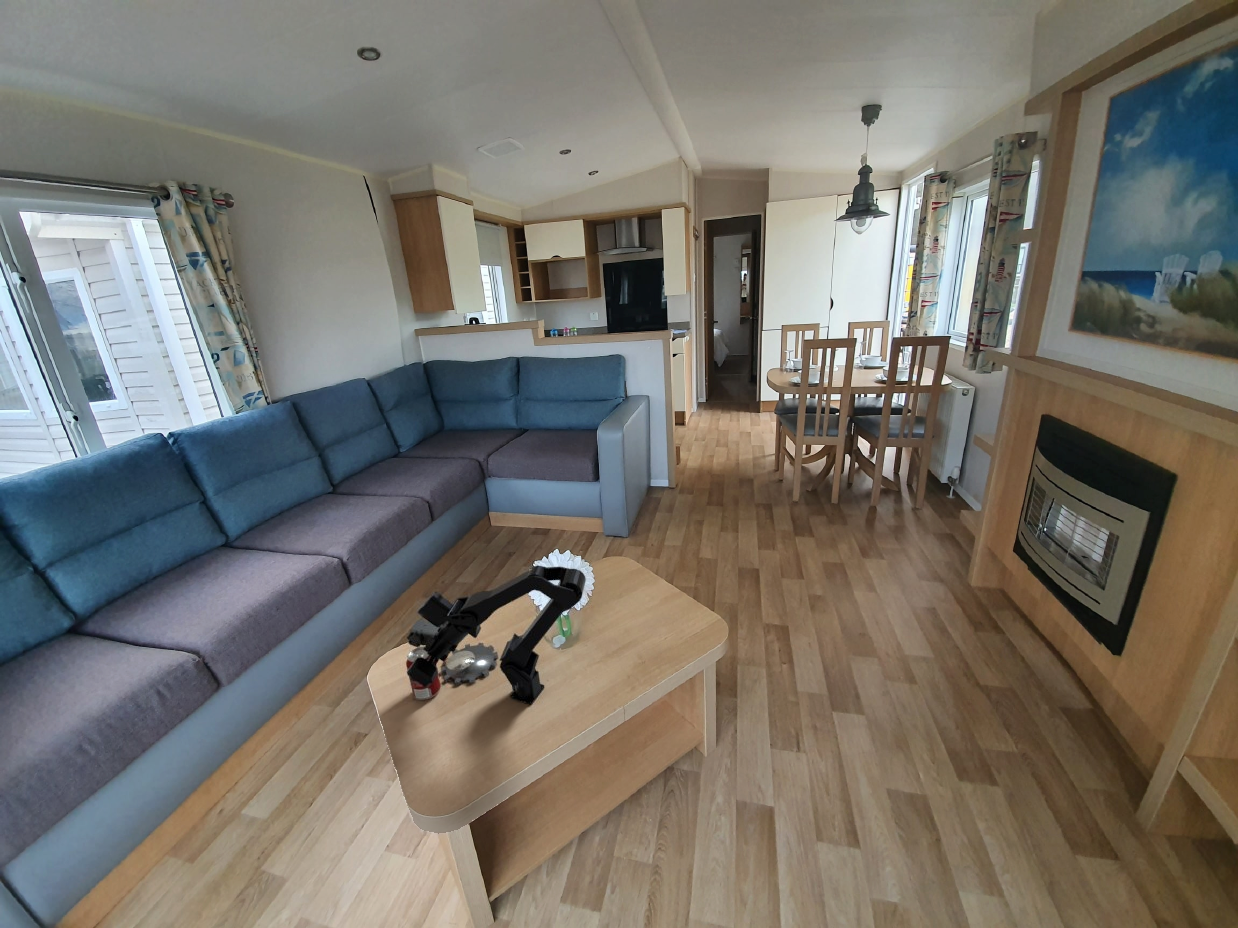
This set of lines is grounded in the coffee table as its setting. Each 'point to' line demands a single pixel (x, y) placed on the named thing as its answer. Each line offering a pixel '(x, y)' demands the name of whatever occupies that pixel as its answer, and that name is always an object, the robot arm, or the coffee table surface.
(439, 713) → the coffee table surface
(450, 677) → the sprocket
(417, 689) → the soda can
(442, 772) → the coffee table surface
